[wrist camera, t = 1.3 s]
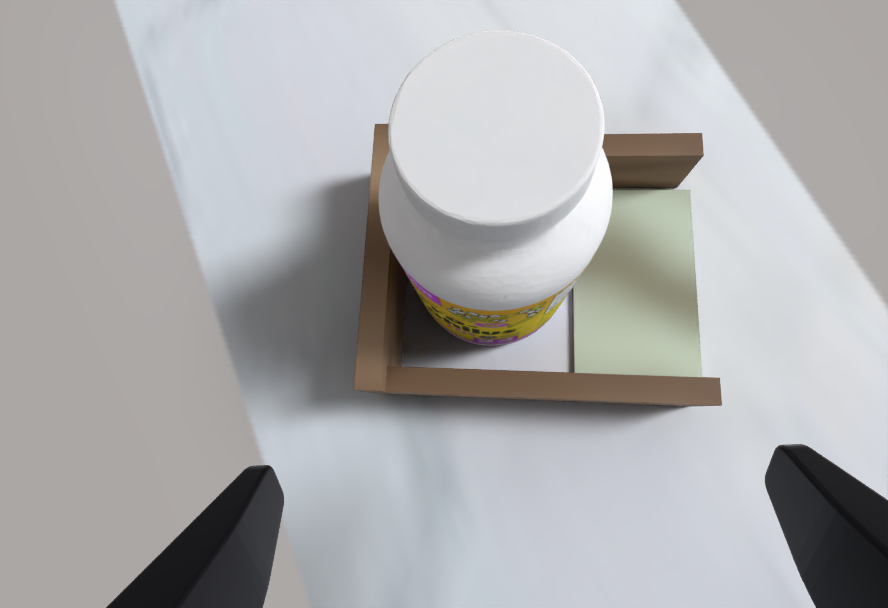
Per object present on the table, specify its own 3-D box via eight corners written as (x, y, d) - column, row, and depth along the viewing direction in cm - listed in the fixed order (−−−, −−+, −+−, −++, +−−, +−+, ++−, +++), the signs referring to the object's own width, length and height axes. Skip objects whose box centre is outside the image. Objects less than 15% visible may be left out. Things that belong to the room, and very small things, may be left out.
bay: (702, 406, 21) (749, 405, 17) (377, 393, 22) (353, 389, 19) (686, 167, 23) (725, 118, 19) (393, 169, 25) (374, 123, 21)
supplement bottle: (392, 297, 23) (279, 166, 11) (471, 186, 24) (449, -55, 12) (514, 378, 22) (543, 333, 10) (592, 257, 23) (713, 71, 10)
